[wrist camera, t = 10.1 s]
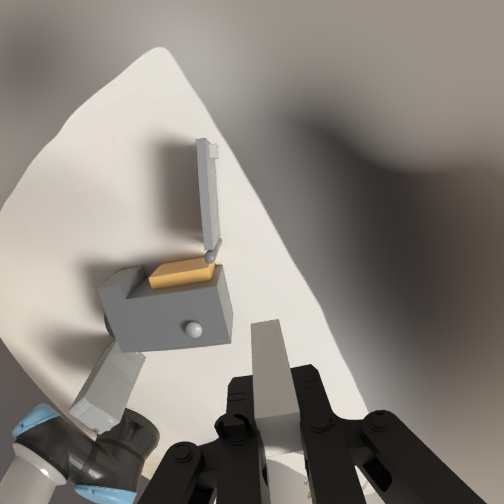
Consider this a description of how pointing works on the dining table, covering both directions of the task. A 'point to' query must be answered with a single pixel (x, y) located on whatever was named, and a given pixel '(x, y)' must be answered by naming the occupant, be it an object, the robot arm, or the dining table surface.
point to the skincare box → (107, 389)
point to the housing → (169, 306)
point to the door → (208, 191)
